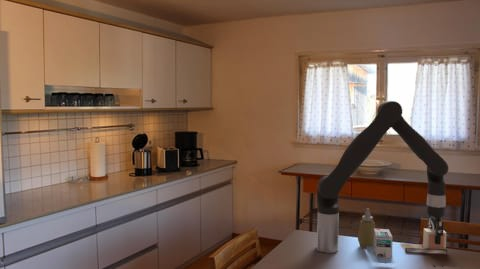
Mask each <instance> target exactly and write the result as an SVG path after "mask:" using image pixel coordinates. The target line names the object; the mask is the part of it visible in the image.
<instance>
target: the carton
mask: <svg viewBox="0 0 480 269" xmlns="http://www.w3.org/2000/svg"><path fill="white" fill-rule="evenodd" d="M438 233H439V231H438ZM422 234H423V236H422V237H423V241H422V243H423V248H432V249H447V232H446V231H445V230H444V229H443V236H441V244H440V245H439V244H435V231H434V230H433V229H429V228H425V227H424V228H423V233H422Z"/></svg>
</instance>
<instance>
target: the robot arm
mask: <svg viewBox="0 0 480 269" xmlns="http://www.w3.org/2000/svg"><path fill="white" fill-rule="evenodd" d="M376 111H377V114H376V116H375V117H374V119H373V120H372V121H371V123H370V124H369V125H368V126H366V128H364V129H363V130H362V131H361V132H360V133H359V134H357V135H356V136H355V138H354V139H352V141H351V142H350V143H349V145H348V146H347V147H346V148H345V150H344V152H343V153H342V156H341V157H340V159H339V161H338V163H337V165H336V166H335V168H334V169H333V170H332V171H331V172H330V173H329V175H324V176H321V177H320V179H318V181H317V190H316V191H317V193H316V194H317V195H316V196H317V200H316V201H317V202H316V203H317V227H316V251H317V252H321V253H326V254H332V253H333V254H334V253H337V252H338V251H339V219H340V218H339V217H340V216H339V214H340V210H339V209H340V205H339V194H340V193H341V191H342V189H343V187H344V186H345V185H346V183H347V181H348V180H349V179H350V177H351V176H352V175H353V174H354V173H355V172H356V171H357V170H358V169H359V167H360V166H361V165H362V164H363V163H364V161H366V160H367V158H368V157H369V156H370V154H372V152H373V151H374V149H375V148H376V147H377V145H378V144H379V142H380V141H381V139H382V138H383V136H384V135H385V134H386V133H387V132H388V131H389V130H390V129H392V130H394V132H396V134H397V135H398V136H399V137H400V138H401V139H402V140H403V141H404V142H405V144H406V145H407V146H408V147H409V149H410V150H411V151H412V152H413V153H414V155H415V156H416V157H417V158H418V159H419V160H421V161H422V162H423V163H424V164H425V165H426V176H427V183H428V184H427V196H426V207H425V208H426V209H425V210H426V211H425V213H426V215H427V225H426V226H427V227H428V228H427V229H433V230H434V231H435V244H439V245H440V244H441V236H443V230H444V223H445V222H444V221H442V220H441V219H442V218H443V217H446V207H447V206H446V205H447V199H446V183H445V180H444V176H445V175H447V174H448V172H449V165H448V162H446V160H445V159H444V158H443V157H441V155H439V154H438V153H437V152H436V150H434V149H433V147H432V146H431V145H430V144H429V143H428V141H427V140H426V139H425V137H423V136H422V135H421V134H420V133H419V132H418V131H417V130H415V129H414V128H413V127H412V126H411V125H410V124H409V123H408V122H407V121H406V119H405V118H404V117H403V107H402V106H401V103H399V102H397V101H394V100H387V101H383V102H382V103H380V104H379V106H378V107H377V110H376ZM438 231H439V233H438Z"/></svg>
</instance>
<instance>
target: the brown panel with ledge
mask: <svg viewBox="0 0 480 269" xmlns="http://www.w3.org/2000/svg"><path fill="white" fill-rule="evenodd" d="M399 245H400V247H401V248H402V249H403V251H404V252H405V253H406V254H407V253H408V254H425V255H426V254H429V255H448V249H447V248H446V249H432V248H423V242H422V243H421V244H419V243H418V244H417V243H414V244H413V243H399Z"/></svg>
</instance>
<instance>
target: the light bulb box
mask: <svg viewBox="0 0 480 269" xmlns="http://www.w3.org/2000/svg"><path fill="white" fill-rule="evenodd" d="M373 252H374V254H375V257H376V258H387V259H391V258H392V259H393V234H392V233H391V231H390V229H387V228H386V229H385V228H376V227H375V228H374V246H373Z"/></svg>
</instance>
